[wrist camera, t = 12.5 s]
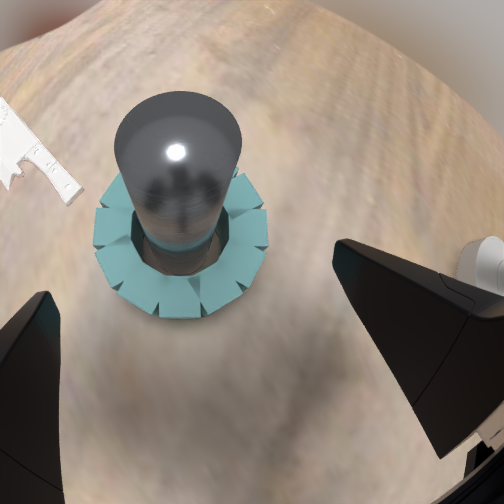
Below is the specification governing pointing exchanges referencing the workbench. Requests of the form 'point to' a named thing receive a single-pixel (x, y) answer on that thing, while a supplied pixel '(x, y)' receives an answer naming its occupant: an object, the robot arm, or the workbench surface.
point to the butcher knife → (30, 155)
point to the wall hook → (483, 265)
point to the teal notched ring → (181, 287)
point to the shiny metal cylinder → (178, 172)
